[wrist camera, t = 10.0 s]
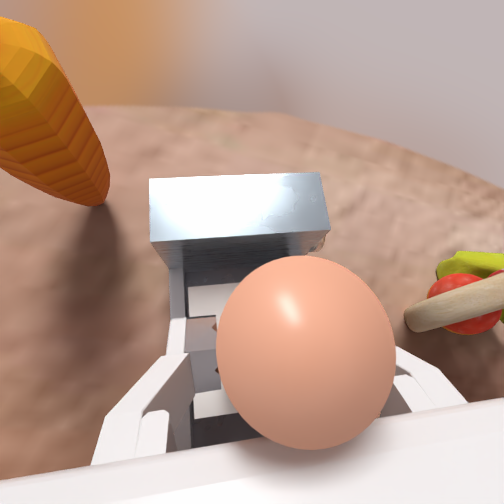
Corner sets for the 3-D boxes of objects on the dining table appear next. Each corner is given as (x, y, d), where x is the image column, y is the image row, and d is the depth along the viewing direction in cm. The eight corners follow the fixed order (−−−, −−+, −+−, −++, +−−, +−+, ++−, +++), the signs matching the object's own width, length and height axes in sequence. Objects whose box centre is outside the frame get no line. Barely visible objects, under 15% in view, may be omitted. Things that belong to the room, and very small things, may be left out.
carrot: (151, 197, 21) (4, -113, 7) (98, 248, 19) (-237, -9, 5) (100, 157, 21) (-139, -211, 7) (45, 204, 20) (-396, -143, 6)
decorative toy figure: (415, 362, 22) (547, 317, 20) (490, 426, 11) (790, 341, 9) (375, 284, 23) (495, 236, 21) (408, 274, 13) (651, 176, 11)
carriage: (198, 406, 16) (127, 628, 4) (192, 295, 17) (130, 187, 5) (299, 391, 16) (524, 533, 4) (283, 286, 18) (415, 175, 6)
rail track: (192, 725, 13) (161, 1162, 6) (174, 234, 20) (149, 177, 13) (364, 675, 15) (504, 996, 7) (292, 227, 21) (328, 170, 14)
